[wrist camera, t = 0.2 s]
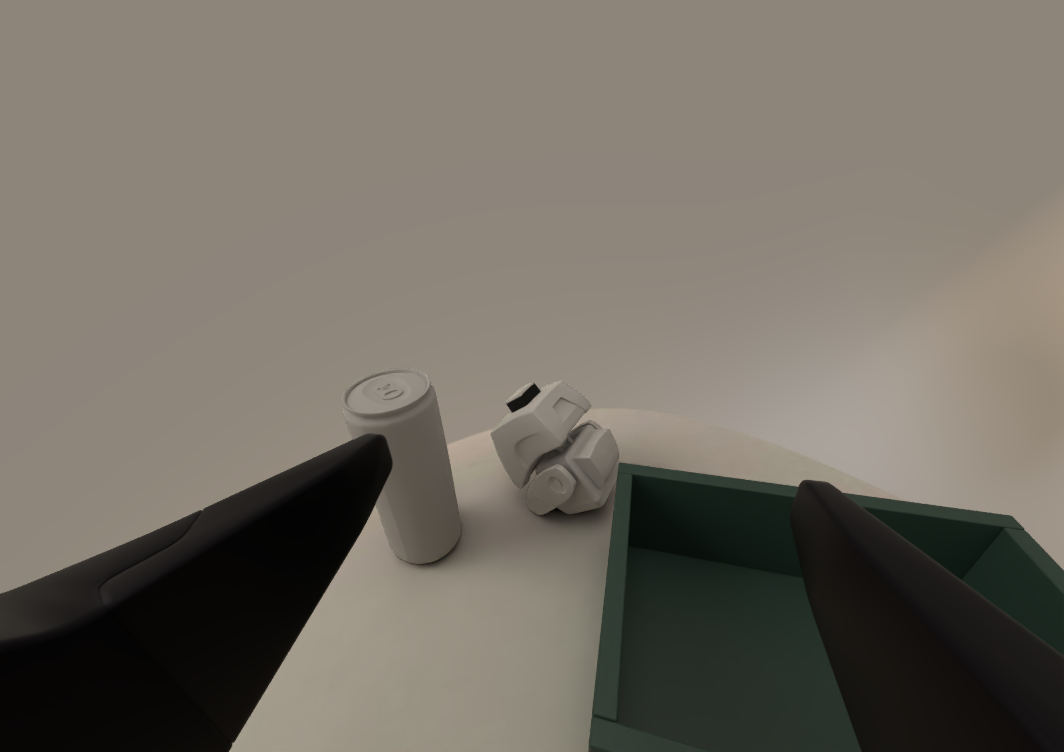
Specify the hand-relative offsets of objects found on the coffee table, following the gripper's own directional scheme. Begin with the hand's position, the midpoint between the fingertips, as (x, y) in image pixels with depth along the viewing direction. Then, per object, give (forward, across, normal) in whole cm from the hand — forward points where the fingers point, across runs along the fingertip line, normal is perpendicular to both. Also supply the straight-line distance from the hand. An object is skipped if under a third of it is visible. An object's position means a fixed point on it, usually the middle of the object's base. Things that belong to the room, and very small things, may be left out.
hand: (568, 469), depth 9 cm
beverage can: (+10, +11, +16) cm, 22 cm away
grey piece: (+15, +3, +16) cm, 22 cm away
